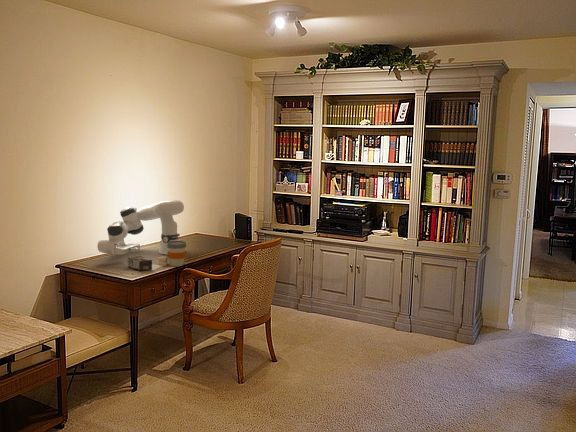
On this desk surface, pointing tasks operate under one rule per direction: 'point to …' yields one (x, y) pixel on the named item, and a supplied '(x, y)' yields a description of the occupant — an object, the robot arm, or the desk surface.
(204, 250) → the desk surface
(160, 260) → the maple block
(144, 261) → the coffee box
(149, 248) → the desk surface
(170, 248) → the reusable coffee cup
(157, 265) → the grey mat
